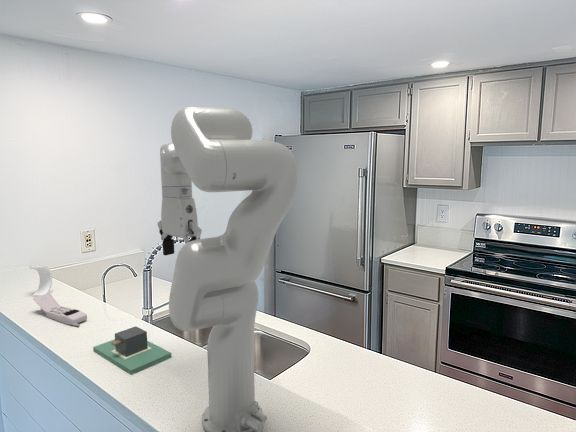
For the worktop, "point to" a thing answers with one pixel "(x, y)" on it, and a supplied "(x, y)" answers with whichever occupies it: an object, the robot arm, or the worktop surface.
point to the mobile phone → (59, 311)
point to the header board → (133, 356)
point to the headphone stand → (43, 281)
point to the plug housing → (130, 341)
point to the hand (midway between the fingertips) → (179, 257)
